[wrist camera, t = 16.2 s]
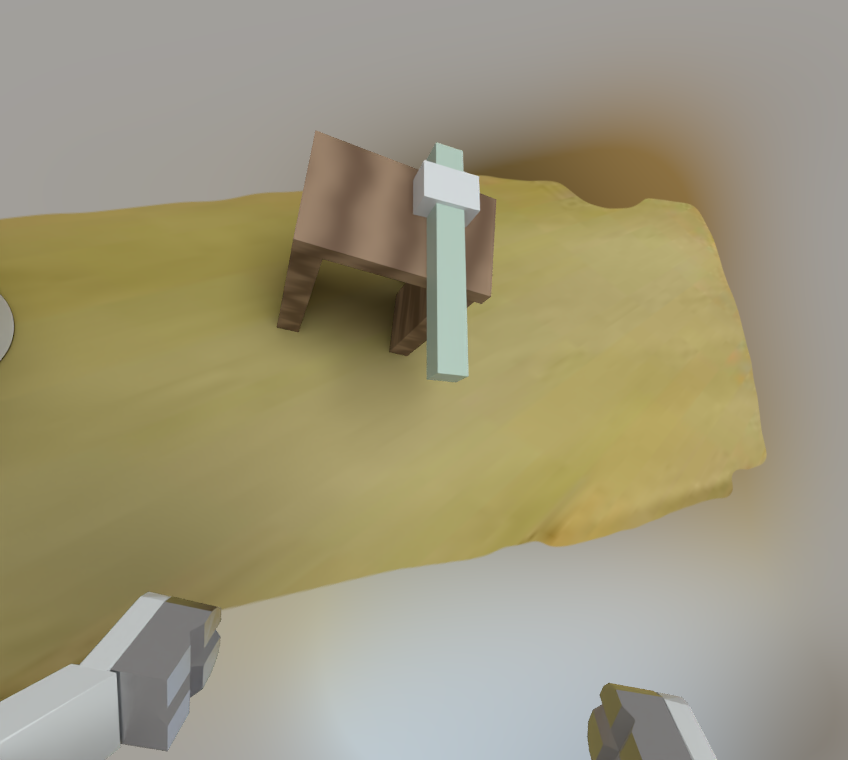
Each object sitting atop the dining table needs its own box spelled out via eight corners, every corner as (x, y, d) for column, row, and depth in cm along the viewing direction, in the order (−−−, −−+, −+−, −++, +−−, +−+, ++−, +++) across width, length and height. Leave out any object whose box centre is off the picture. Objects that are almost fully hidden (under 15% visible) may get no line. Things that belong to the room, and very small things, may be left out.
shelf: (275, 333, 61) (293, 238, 37) (290, 260, 64) (315, 130, 41) (406, 361, 67) (490, 296, 44) (413, 293, 71) (496, 199, 47)
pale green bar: (411, 377, 38) (423, 369, 36) (413, 155, 44) (424, 134, 42) (470, 383, 41) (485, 376, 38) (464, 171, 46) (477, 151, 44)
